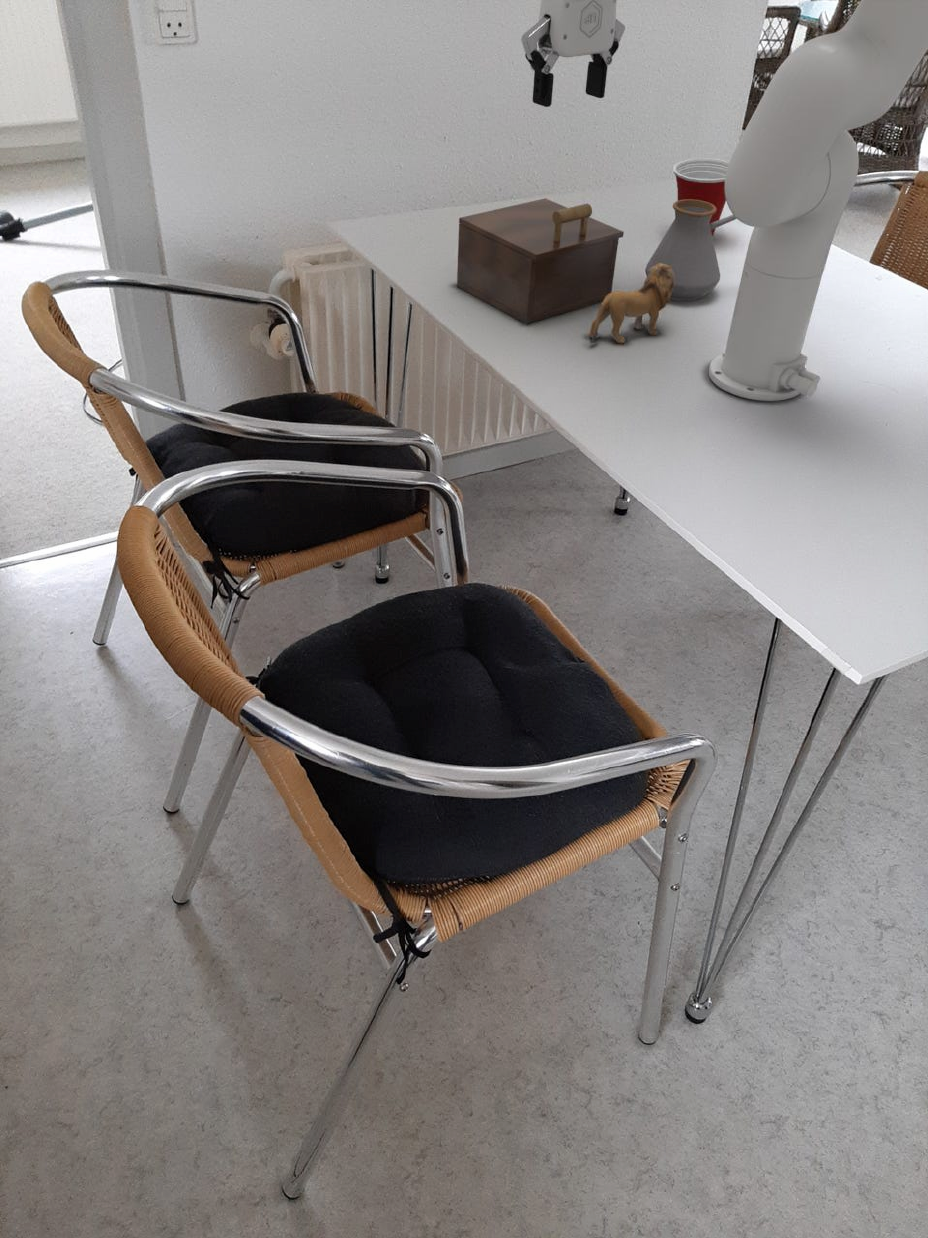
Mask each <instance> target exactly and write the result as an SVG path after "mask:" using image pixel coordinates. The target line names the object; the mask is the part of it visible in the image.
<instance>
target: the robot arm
mask: <svg viewBox="0 0 928 1238" xmlns="http://www.w3.org/2000/svg"><path fill="white" fill-rule="evenodd" d="M616 17H617V0H540V6H539V16H538V21H537V22H536V23H535V24H534V25H533V26H532V27H530V28H529V29H527V31H526V32H524V33H523V34H522V36H521V39H520V40H521V44H522V47H523V50H524V52H525V54H524V55H525V58H526V60H527V62H528V63H529V65H530V70H532V71H533V73H534V74H533V85H532V87H533V88H532V102H533V104H536V105H537V106H542V107H545V108H550V107H551V106H552V101H553V92H554V91H553V90H554V89H553V88H554V73H552V72H551V71H552V69H553V67H554V66H555V64H556V62H557V61H558V59H559V57H562V58H575V57H583V56H590V58H591V61H588V65H587V72H586V81H585V94H586V95H588V96H591V97H594V98H597V99H603V98H604V97H605V93H606V85H607V77H608V75H607V74H608V67H609V66H610V65H612V62H613V57H614V55H615V54H616V52H617V51H618V49H619V46H620V42H621V39H622V37H623V35H624V33H625V30H626V25H624V23H622V22H621V21H620V20H619V19H617V18H616ZM927 51H928V0H860V1H859V3H858V4H857V7H856V8H855V9H854V11H853V12H852V14H851V15H850V17H849V18H848V21H847V22H846V23H845V24H844V26H842V28H840V29H839V30H838V31H836V32H831V33H827V34H822V35H819V36H816V37H813V38H811V39H809V40H807V41H805V42H803V43H802V44H800V45H799V46H798V47H796V48H795V49H794V50H793V51H792V52H791V53H789V54H788V56H787V57H786V58H785V59H784V61H783V62H782V63H780V66H778V69H777V70H776V71H775V73H774V75H773V76H772V77H771V80H770V82H769V83H768V84H767V85H768V86H767V87H766V89H765V91H764V93H763V94H762V96H761V98H760V100H759V103H758V104H757V106H756V108H755V110H754V112H753V114H752V116H751V118H750V120H749V121H748V123H747V125H746V127H745V129H744V131H743V133H742V135H741V137H740V139H739V141H738V143H737V144H736V146H735V149H734V151H733V152H732V155H731V157H730V160H729V161H728V162H729V165H728V168H727V172H726V176H725V197H726V202H725V203H726V205H727V207H728V209H729V211H730V212H731V215H734V216H735V217H736V218H737V219H736V220H738V221H739V222H740V223H742V224H744V225H747V226H749V227H753V230H752V233H751V236H750V240H749V243H748V247H747V250H746V255H745V259H744V264H743V269H742V272H741V278H740V281H739V287H738V290H737V295H736V299H735V304H734V310H733V313H732V318H731V322H730V326H729V332H728V336H727V340H726V345H725V349H724V353H722V354H719V355H718V356H716V357H714V358H713V359H712V360H711V361H710V363H709V367H708V376H709V379H710V380H711V381H712V383H714V384H715V385H716V386H717V387H718V388H719V389H722V390H723V391H725V392H727V393H729V394H732V395H735V396H737V397H740V398H744V399H747V400H753V401H762V402H777V401H785V400H789V399H793V398H794V397H796V396H798V395H800V394H801V395H803V396H806V397H807V398H810V397H812V396H813V395H814V394H815V393H816V391H817V388H818V384H819V382H820V380H821V376H819V375H818V374H816V373H813V372H811V371H808V370H807V368H806V365H807V361H808V357H809V356H807V355H805V354H803V353H802V350H803V347H804V343H805V340H806V336H807V332H808V329H809V324H810V322H811V318H812V314H813V311H814V306H815V304H816V300H817V295H818V292H819V288H820V285H821V281H822V277H823V274H824V271H825V268H826V265H827V261H828V257H829V255H830V250H831V247H832V244H833V240H834V238H835V234H836V232H837V229H838V226H839V224H840V221H841V219H842V215H843V214H844V212H845V209H846V207H847V205H848V202H849V200H850V198H851V195H852V193H853V190H854V188H855V185H856V182H857V177H858V173H859V168H860V167H859V165H860V158H859V151H858V147H857V144H856V142H855V140H854V138H853V137H852V135H851V134H850V133H849V131H850V130H854V129H858V128H860V127H863V126H866V125H868V124H871V123H873V122H875V121H876V120H879V119H880V118H881V117H883V116H884V115H885V114H886V113H887V112H888V111H889V110H890V109H891V108H892V107H893V105H894V104H895V102H896V101H897V100H898V98H899V96H900V95H901V93H902V91H903V90H904V87H906V85H907V83H908V81H909V80H910V78H911V77H912V75H913V74H914V71H915V70H916V69H917V67H918V66H919V64H920V62H921V60H922V59H923V58H924V56H925V54H926V53H927Z"/></svg>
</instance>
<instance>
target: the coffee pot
mask: <svg viewBox="0 0 928 1238" xmlns="http://www.w3.org/2000/svg"><path fill="white" fill-rule="evenodd" d="M672 208H673V210H674V220H673V221H672V223H671V224H670V226H669V228H667V230H666V233H665V235H664V236H663V238H662V239H661V241H660V242H659V244H658V245H657V248H656V249H655V250H654V252H653V254H652V256H651V257H650V258H649V260H648V262H647V264H646V265H645V269H644V272H645V275H646V278H647V277H648V274H649V269H650V268H652V267H653V266H656V265H657V264H659V263H662V264H667V265H669V266H670V267H671V268H672V271H673V273H674V275H675V279H674V287H673V291H672V294H671V296H670V300H674V301H675V300H676V301H687V302H688V301H695V300H696V301H697V300H699V299H701V298H703V297H704V296H705V295H707V294H709V293H710V292H712V291H713V290H714V288H716V286H717V285H718V284H719V282H720V281H721V272H720V271H721V270H720V266H719V262H718V258H717V252H716V247H715V242H714V238H713V237H714V236H713V237H712V232H711V230H712V229H715V228H716V229H717V228H719V227H721V226H724V225H726V224H728V223H731V222H733V221H736V220H738V219H737V218H736V217H735V216H734V215H733V214H731V215H728V216H725V217H723V218H720V219H719V220H718V221H715V222H712V223H709V222H710V220H711V217H712V215H713V214H714V213H716V210H717V209H716V207H715V206H714V205H713V204H711V203H708V202H705V201H700V200H690V199H687V200H679V201H678V200H676V201H674V202H673V203H672ZM716 229H715V230H716Z"/></svg>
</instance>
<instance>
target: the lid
mask: <svg viewBox="0 0 928 1238" xmlns="http://www.w3.org/2000/svg"><path fill="white" fill-rule="evenodd" d="M592 214H593V207H592V206H591V204H589V203H583V204H580V205H575V206H571V207H567V206H565V205H562V204H560V203H558V202H555V201H552V200H551V199H547V198H545V197H544V198H541V199H536V200H532V201H528V202H521V203H518V204H514V205H510V206H505V207H501V208H497V209H496V208H495V209H492V210H488V211H484V212H479V213H475V214H471V215H465V216H462V217H459V218H458V224H462V225H464V226H466V227H468V228H470V229H472V230H474V231H476V232H478V233H481V234H483V235H485V236H487V237H489V238H491V239H493V240H495V241H497V242H499V243H501V244H503V245H505V246H507V247H509V248H511V249H513V250H515V251H518V252H520V253H522V254H524V255H526V256H528V257H530V258H532V259H534V260H539V259H542V258H546V257H550V256H554V255H557V254H561V253H565V252H569V251H572V250H576V249H580V248H584V247H587V246H591V245H595V244H599V243H602V242H606V241H610V240H614V239H617V238H619V239H620V238H624V235H625V234H624V231H623V230H620V229H618V228H616V227H615V226H614V227H613V226H611V225H609V224H606V223H604V222H602V221H599V220H597V219H595V218H592V217H591V216H592Z"/></svg>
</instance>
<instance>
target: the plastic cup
mask: <svg viewBox="0 0 928 1238" xmlns="http://www.w3.org/2000/svg"><path fill="white" fill-rule="evenodd" d="M729 162H730V161H727V160H725V159H718V158H710V157H697V158H689V159H685V160H681V161H678V162H677V163H675V164H674V165H673V174H674V175H675V178H676V179H675V180H676V181H675V182H676V188H677V201H679V200H687V199H690V200H700V201H705V202H708V203H711V204H713V205H714V206H715V207H716V209H717V210H716V213H714V214H713V215H712V217H711V220H710V222H709V223H712V222H715V221H718V220H720V219H721V216H722V214H723V210H724V208H725V205H726V203H727V202H726V197H725V176H726V172H727V168H728V165H729ZM716 229H717V228H715V229H712V230H711V232H712V237H714V235H715V231H716Z"/></svg>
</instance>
